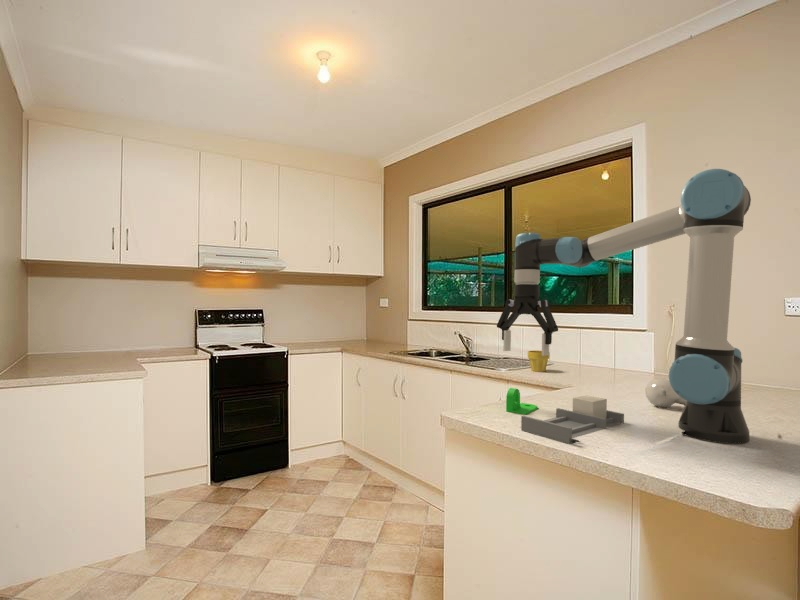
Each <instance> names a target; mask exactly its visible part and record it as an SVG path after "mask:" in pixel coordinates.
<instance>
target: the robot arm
mask: <svg viewBox="0 0 800 600" xmlns="http://www.w3.org/2000/svg"><path fill="white" fill-rule="evenodd" d="M751 198H752V197H751V193H750V191H749V189H748V188H747V187H746V186H745V184H744V182H743V180H742V178H741V177H740V176H739V175H737V174H736V173H734V172H732V171H730V170H727V169H723V168H710V169H706V170H703V171H701V172H700V171H699V172H698V173H696V174H695V175H693V176H692V177H691V178H690V179H688V180H687V182H685V184H684V186H683V187H682V190H681V193H680V205H679V206H675V207H673V208H669V209H666V210H665V211H661V212H659V213H655V214H653V215H650V216H647V217H644V218H641V219H638V220H636V221H633V222H629V223H626V224H625V225H620V226H619V227H614V228H613V229H609V230H606V231H604V232H601V233H598V234H595V235H591V236H589V237H587V238H584V239H582V240H580V239H579V237H576V236H563V237H554V238H542V237H541V234H539V233H536V232H523V233H522V232H521V233H519V234H517V235H516V237H515V243H514V244H515V245H514V281H513V282H514V287H513V289H514V290H513V295H514V300H513V299H508V298H507V299H506V300H505V305H504V308H503V310H502V312H501V315H500V317H499V319H498V322H497V324H496V328H498V329H500V330H501V339H502V341H503V352H509V351H511V349H512V345H511V341H512V339H511V337H512V330H510V328H511V327H512V326H513V324H514V323H516V320H517V319H518V318H519V316H521V315H531V316H532V317H534V319H535V321H536V322H537V324H538V325H539V326H540V328H541V329H542V331H543V333H541V351H542V356H546V355H549V356H550V345H552V343H553V342H552V339H553V337H552V335H553V333H555V332H558V331H559V327H558V325H557V322H556V320H555V317H554V316H553V313H552V311H551V309H550V301H549V300H548V299H541V300H540V298H539V297H540V290H541V289H540V287H541V286H540V285H539V283H540V282H541V281H540V277H541V276H540V275H541V265H549V264H550V265H555V264H556V265H558V264H559V265H564V266H565V265H566V266H570V267H575V268H585V267H588V266H590V265H591V264H592V263H594V262H597V261H600V260H603V259H606V258H610V257H612V256H613V257H614V256H616V255H620V254H623V253H627V252H629V251H634V250H637V249H639V248H643V247H646V246H649V245H650V246H651V245H652V244H655V243H660V242H662V241H666V240H669V239H672V238H676V237H680V236H683V235H685V234H686V235H687V236H688V237H689V253H688V262H687V263H688V265H687V266H688V267H687V278H686V279H687V281H686V297H685V306H684V307H685V309H684V326H683V336H682V337H681V338H680V339H678V340H677V341H676V342H675V347H674V361H673V362H672V363H671V366H670V368H669V370H668V381H670V384H671V387H672V388H673V390H674V391H675V392H676V393H677V394H678V395H679V396H680V397H681V398H683V399H684V400H686V405H685V406H684V407H683V410H682V412H681V415H680V418H679V420H678V425H677V427H678V428H679V429H680V430H682V432H680V433H681V434H683V435H684V436H687V437H691V438H694V439H696V440H697V439H698V440H703V441H707V442H714V443H721V444H746V443H749V442H750V430H749V426H748V423H747V422H746V418H745V416H744V414H743V413H744V412H743V410H742V363H743V361H744V360H743V357H742V352H741V350H740V349H739V348H738V347H734V346H733V345H732V344H731V343H730V342H729V341H728V331H729V317H730V316H729V315H730V301H731V291H732V275H733V274H732V273H733V258H734V246H735V245H734V244H735V237H736V236H737V235H738V234H739V233H740V232H742V231H743V230H744V219H745V215H746V214H747V212H748V211H749V209H750V206H751V202H752V199H751ZM513 307H514V309H513ZM539 308H541V311H540V309H539ZM512 309H513V310H512Z"/></svg>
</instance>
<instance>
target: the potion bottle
mask: <svg viewBox="0 0 800 600" xmlns="http://www.w3.org/2000/svg"><path fill="white" fill-rule="evenodd" d="M644 391H645V397H646V398H647V400H648V402H650V404H651V405H653V406H655V407H658V408H659V407H664V408H665V407H666V408H667V407H668V408H669V407H671V406H673V405H675V404H679V405H683V406H684V407H685V405H686V400H684V399H683V398H681V397H680V396H679V395H678V394H677V393H676V392H675V391H674V390H673V388H672V387H671V384H670V381H669V379H666V378H655V379H653V380H651V381H649V382H648V383H647V384H646V387H645V390H644ZM666 408H665V409H666Z"/></svg>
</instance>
